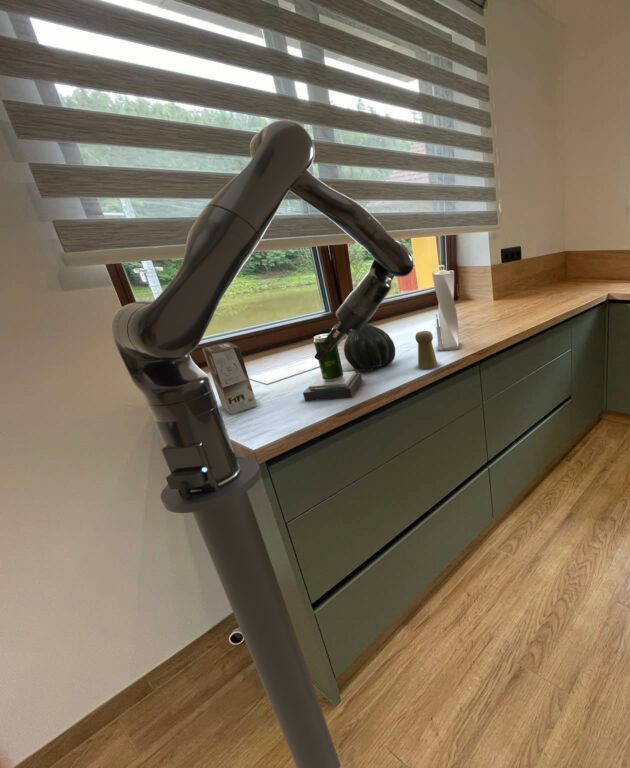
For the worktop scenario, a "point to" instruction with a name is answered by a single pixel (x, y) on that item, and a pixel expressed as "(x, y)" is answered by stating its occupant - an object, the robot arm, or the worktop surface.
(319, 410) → the worktop surface
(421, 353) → the cork
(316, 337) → the beer can
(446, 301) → the skyscraper
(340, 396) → the scale
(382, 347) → the squash
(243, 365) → the coffee box
